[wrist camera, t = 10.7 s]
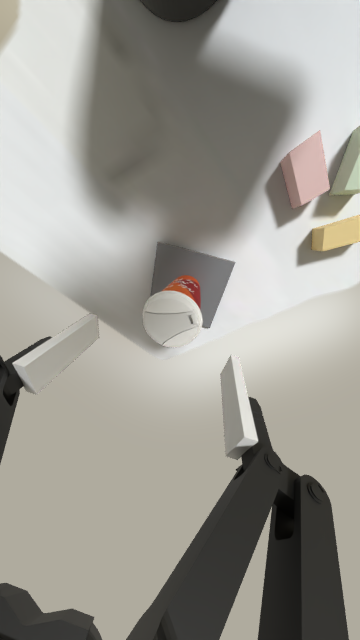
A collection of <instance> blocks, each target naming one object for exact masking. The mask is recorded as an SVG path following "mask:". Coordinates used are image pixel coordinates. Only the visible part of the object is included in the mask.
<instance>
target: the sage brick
mask: <svg viewBox="0 0 360 640" xmlns="http://www.w3.org/2000/svg"><path fill="white" fill-rule="evenodd" d="M358 193H360V126H359V127H358V128H356V129H355V130H354V131H353V133H352V135H351V138H350V141H349V143H348V146H347V149H346V151H345V154H344V157H343V159H342V162H341V165H340V167H339V170H338V173H337V175H336V178H335V181H334V183H333V186H332V189H331V191H330V194H329V195H352V194H358Z"/></svg>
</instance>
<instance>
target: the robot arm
mask: <svg viewBox="0 0 360 640" xmlns="http://www.w3.org/2000/svg"><path fill="white" fill-rule="evenodd" d="M141 1H142V3H143V4H144V5H145V6H146V7H147V8H148V9H149V10H150V11H151V12H153V13H154V14H155V15H157V16H159V17H160V18H163V19H165V20H169V21H185V20H189V19H192V18H194V17H196V16H198V15H200V14H201V13H203V12H204V11H206V10H207V9H208V8H209V7H210V6H212V5H213V4H214V3H215V2H216V1H217V0H141ZM98 329H99V328H98V315H94V314H91V313H90V314H88V315H87V316H85V317H83V318H82V319H80V320H79V321H77V322H76V323H74V324H73V325H71V326H70V327H68V328H66V329H65V330H63V331H62V332H60V333H59V334H57V335H56V336H54V337H46V338H44V339H41V340H39V341H38V342H36V343H34V345H31V346H29V347H28V348H27V349H24V350H23V351H21V352H20V353H18V354H16V355H15V356H13V357H11V358H10V359H8V360H7V361H5V362H4V361H3V359H2V357H1V356H0V463H1V459H2V456H3V452H4V448H5V444H6V441H7V438H8V434H9V430H10V427H11V423H12V419H13V416H14V412H15V408H16V405H17V401H18V397H19V394H20V393H19V389H20V388H22V387H23V386H24V387H25V390H26V391H28V392H30V393H33V394H38V393H39V392H40V391H41V390H42V389H43V388H44V387H45V386H47V385H48V384H49V383H50V382H51V381H52V380H53V379H54V378H55V377H57V375H59V374H60V373H61V372H62V371H63V370H64V369H65V368H66V367H67V366H69V365H70V364H71V363H72V362H73V361H74V360H75V359H76V358H77V357H78V356H80V355H81V353H83V352H84V351H85V350H86V349H87V348H88V347H89V346H91V345H92V344H93V343H94V342H95V341H96V340H97V339H98V338H99V330H98ZM221 391H222V405H223V422H224V437H225V452H226V456H227V457H230V458H233V459H236V460H238V459H239V458H240V457H242V465H241V466H240V467H239V468H237V469H236V471H237V472H236V474H235V475H234V477H233V479H232V480H231V482H230V483H229V485H228V486H227V488H226V490H225V491H224V493H223V494H222V496H221V498H220V499H219V500H218V502H217V504H216V505H215V507H214V508H213V510H212V511H211V513H210V515H209V516H208V518H207V519H206V521H205V522H204V524H203V525H202V527H201V528H200V530H199V532H198V533H197V535H196V536H195V538H194V539H193V541H192V543H191V544H190V546H189V547H188V549H187V550H186V552H185V553H184V555H183V557H182V558H181V560H180V561H179V563H178V564H177V566H176V568H175V569H174V571H173V572H172V574H171V575H170V577H169V579H168V580H167V582H166V583H165V585H164V586H163V588H162V589H161V591H160V592H159V594H158V596H157V597H156V599H155V600H154V602H153V603H152V605H151V606H150V607H149V609H148V610H147V611H146V612H145V613H144V614H143V616H142V617H141V618H140V619H139V621H138V622H137V624H136V625H135V627H134V628H133V630H132V631H131V633H130V635H129V636H128V638H127V639H126V640H219V639H220V636H221V633H222V631H223V629H224V626H225V623H226V621H227V618H228V616H229V613H230V611H231V608H232V606H233V603H234V601H235V598H236V595H237V593H238V590H239V588H240V585H241V583H242V580H243V578H244V575H245V573H246V570H247V568H248V565H249V563H250V560H251V558H252V554H253V553H254V550H255V547H256V545H257V542H258V540H259V537H260V535H261V532H262V530H263V527H264V524H265V522H266V520H267V517H268V515H269V512H270V509H271V507H272V513H271V523H270V532H269V541H268V551H267V560H266V569H265V579H264V587H263V597H262V607H261V615H260V625H259V635H258V640H349V639H348V630H347V622H346V615H345V607H344V599H343V591H342V584H341V576H340V568H339V561H338V553H337V545H336V537H335V530H334V522H333V515H332V507H331V503H330V499H329V497H328V495H327V493H326V491H325V490H324V488H323V487H322V486H321V484H320V483H319V482H318V481H317V480H315V479H314V478H313V477H311V476H309V475H303V476H299V475H298V474H296V473H295V472H293V471H292V470H290V469H289V468H287V467H286V466H285V465H284V464H283V463H282V462H281V460H280V458H279V457H278V455H277V454H276V453H275V452H274V451H273V449H272V446H271V442H270V439H269V436H268V432H267V428H266V425H265V422H264V418H263V416H262V411H261V407H260V406H259V404H258V402H257V400H256V399H254V398H251V397H248V395H247V390H246V385H245V381H244V376H243V372H242V368H241V363H240V359H239V357H237V356H233V355H231V356H230V357H229V360H228V361H227V363H226V365H225V367H224V369H223V371H222V372H221ZM93 620H94V617H92V616H90V615H87V614H84V613H82V612H80V611H77V610H74V609H68V610H62V611H56V612H51V613H43V612H42V611H41V610H40V608H39V607H38V606H37V604H36V603H35V601H34V600H33V599H32V597H31V596H30V594H29V593H28V592H27V591H26V590H23V589H20V588H18V587H15V586H12V585H10V584H8V583H1V584H0V640H102V638H101V636H100V633H99V631H98V629H97V628H96V627H95V625H94V624H93Z"/></svg>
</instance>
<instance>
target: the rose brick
mask: <svg viewBox="0 0 360 640" xmlns="http://www.w3.org/2000/svg"><path fill="white" fill-rule="evenodd" d="M280 163H281V167H282V171H283V175H284V179H285V183H286V187H287V191H288V195H289V199H290V202H291V206H292V209H293V208H296V207H299V206H302V205H304V204H305V203H307V202H309V201H311V200H312V199H314V198H316V197H317V196H319V195H321V194H323V193H324V192H326V191H328V190H329V189H330V186H329V180H328V174H327V168H326V162H325V156H324V150H323V144H322V139H321V133H320V130H319V131H318V132H317V133H315V134H314V135H312V136H311V137H310V138H308V139H307V140H305V141H304V142H303V143H301V144H300V145H299V146H297V147H296V148H294V149H293V150H292V151H290V152H289V153H288V154H287V155H286V156H285V157H284V158H283V160H282V161H281V162H280Z"/></svg>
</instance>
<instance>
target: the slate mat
mask: <svg viewBox="0 0 360 640" xmlns="http://www.w3.org/2000/svg"><path fill="white" fill-rule="evenodd" d="M234 264H235V262H233V261H230V260H226V259H222V258H218V257H215V256H211V255H207V254H203V253H200V252H196V251H192V250H188V249H185V248H181V247H177V246H173V245H170V244H166V243H162V242H158V244H157V252H156V259H155V267H154V275H153V282H152V290H151V296H153V295H154V294H156V293H158V292H161V291H162V290H163V289H165V288H166V287H167V286H168V285H169V284H170V283H172V282H173V281H174V280H175V279H177V278H178V277H180V276H183V275H189V276H192V277H194V278H195V279H196V280H197V281H198V283H199V285H200V296H201V307H200V311H201V314H202V319H203V323H202V326H204V327H208V328H210V326H211V323H212V321H213V318H214V316H215V313H216V310H217V308H218V305H219V303H220V300H221V298H222V295H223V293H224V290H225V287H226V285H227V282H228V280H229V277H230V275H231V272H232V270H233V267H234Z"/></svg>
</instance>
